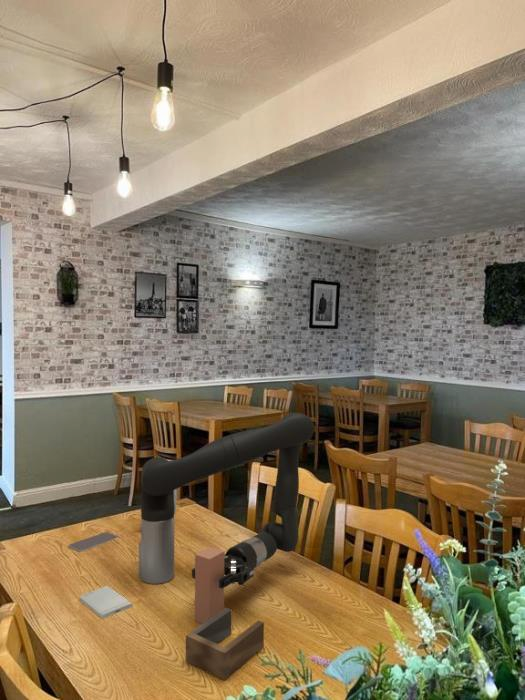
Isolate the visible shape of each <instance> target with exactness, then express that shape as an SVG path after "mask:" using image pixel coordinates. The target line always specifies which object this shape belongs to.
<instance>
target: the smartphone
mask: <svg viewBox="0 0 525 700" xmlns="http://www.w3.org/2000/svg"><path fill="white" fill-rule="evenodd" d="M115 538H118V539H119V536H118V535H116V534H113V533H110V532H108V531H105V532H101V533H98V534H96V535H92V536H90V537H87V538H84V539H80V540H77V541H75V542H73V543H70V544H68V546H67V547H68V548H69V549H71V550H73V551H74V552H78V553H83V552H82V551H84V552H86V551H88V549H89V550H92V549H94V548H97V547H99V546H98V545H100V546H102V545H104V544H103V543H105V544H107V543H106V542H108V541H110V540H113V539H115ZM113 541H114V540H113ZM110 542H111V541H110ZM108 543H109V542H108ZM101 544H102V545H101ZM96 546H97V547H96ZM93 547H94V548H93ZM91 548H92V549H91ZM85 550H86V551H85Z"/></svg>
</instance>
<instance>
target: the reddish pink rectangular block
mask: <svg viewBox="0 0 525 700" xmlns="http://www.w3.org/2000/svg"><path fill="white" fill-rule="evenodd" d="M224 555H225V550H221V549H218V548H215V547H212V546H209V547H208V548H205V549H203V550H201V551H198V553H195V554H194V556H195V557H194V568H195V579H194V621H195V622H197V623H199V624H201V625H202V624H203V623H205V622H206V621H208V620H209V619H211V618H212V617H214V616H215V615H217V614H218V613H220V612H221V611H223V610H224V609H225V587H224V588H223V589H221V588H219V579H220V578H222V577H224V576H225V575H224Z"/></svg>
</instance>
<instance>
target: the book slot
mask: <svg viewBox="0 0 525 700" xmlns="http://www.w3.org/2000/svg"><path fill="white" fill-rule="evenodd" d="M264 625H265V622H264V621H261V620H257V621H255V622H254V623H253V624H251V625H250V626H249V627H248V628H246V629H245V630H244V631H242V632H241V633H240V634H239V635H238V636H236V637H235V638H234V639H232V640H231V641H229V642H228V643H227V644H226V645H224V646H223V645H221V644H219V643H222V641H223V640H225V639H227V637H229V636H230V635H232V609H231V608H227V607H224V610H223V611H221V612H220V613H218V614H217V615H215V616H214V617H212V618H211V619H209V620H208V621H206V622H205V623H203V624H202V623H201V624H200V625H199V626H198V627H196V628H195V629H194V630H191V631H190V632H189V633H188V634H185V662H186V663H187V664H188V663H189V664H190V665H192V666H194V667H197V668H199V669H201V670H202V671H205V672H207V673H209V674H210V675H213V676H215V677H217V678H219V679H220V680H223V681H226V680H227V679H229V678H230V677H231V676H232V675H233V674H234V673H235V672H237V671H238V670H240V668H241V667H243V665H245V664H247V662H248V661H249V660H250V658H251V657H252V656H253V657H254V656H255V655H256V654H257V653H256V652H258V653H259V652H260V651H261V650H262V649H263V648H264V643H265V641H264V639H265V631H264V630H265V629H264V628H265V626H264ZM253 657H252V658H253ZM252 658H251V659H252Z"/></svg>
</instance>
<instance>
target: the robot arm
mask: <svg viewBox="0 0 525 700" xmlns="http://www.w3.org/2000/svg"><path fill="white" fill-rule="evenodd" d="M314 432H315V424H314V422H313V420H312V419H311V418H310V417H309V416H308V415H306V414H304V413H302V412H291V413H286V414H285V415H284V416H283V417H281V419H280V420H279V421H278V422H275V423H273V424H270V425H268V426H264V427H259V428H256V429H250V430H249V429H248V430H245V431H244V430H243V431H239V432H235V433H232V434H229V435H225V436H222V437H219V438H217V439H214V440H212V441H211V442H208V443H207V444H205V445H204V446H201V447H200V448H199V449H197V450H195V451H194V452H192V453H191V454H188V455H185V456H183V457H180V458H177V459H173V460H168V459H166V458H164V457H161V456H159V457H157V456H156V457H152V458H150V459H149V460H147V461H145V463H144V464H143V466H142V468H141V471H140V517H141V519H140V523H141V524H140V533H141V536H140V537H141V538H140V542H138V577H140V579H141V580H142V582H144V583H147V584H152V585H155V584H156V585H157V584H164V583H167V582H170V581H171V580H172V579H173V578H174V577H175V526H176V525H175V516H174V513H175V507H174V490H175V489H177V490H178V489H180V488H182V487H184V486H185V485H188V484H190V483H193V482H194V481H197V480H198V481H199V480H200V479H203V478H208V477H210V476H214V475H216V474H219V473H222V472H226V471H229V470H232V469H234V468H237V467H240V466H242V465H245V464H248V463H250V462H252V461H254V460H257V459H259V458H262V457H263V456H266V455H268V454H270V453H272V452H276V451H278V462H277V463H278V465H277V470H276V471H277V472H276V477H275V478H276V480H275V485H274V492H273V501H272V505H271V506H272V508H271V510H272V512H273V514H275V515H276V516H278V517H280V519H281V520H282V521H281V522H282V523H280V522H278V521H277V522H276V521H271V522H268V523H266V524H264V525H263V527H262V528H261V530H259V532H258V533H257V534H256V535H254V536H252V537H250V538H246V539H244V540H243V541H240V542H239V543H237V544H234V545H233V546H231V547H229V548H228V549H227V551H226V552H225V553H224V577H222V578H220V579H219V588H221V589H223V588H224V589H225V588H226V587H228V586H230V585H231V584H232V585H235V584H236V583H238V585H239V586H242V585H244V584H246V583H247V582H248V581H249V580H251V579H252V578H253V577H254V576H255V569H257V568H258V567H259V566H261V565H262V564H263V563H264V562H266V561H267V560H269V559H271V558H272V557H273V556H274V555H275V554H276V552H277V550H278V551H279V550H280V551H282V552H286V553H291V552H293V550H295V549H296V547H297V546H298V543H299V527H298V520H297V504H298V498H299V497H298V496H299V488H300V487H299V486H300V481H299V478H300V477H299V476H300V475H299V460H300V453H301V448H302V445H303V444H306V443H307V442H308V441H310V440H311V438H312V437H313V435H314ZM191 578H192V579H194V580H195V567H194V568H192V569H191Z"/></svg>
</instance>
